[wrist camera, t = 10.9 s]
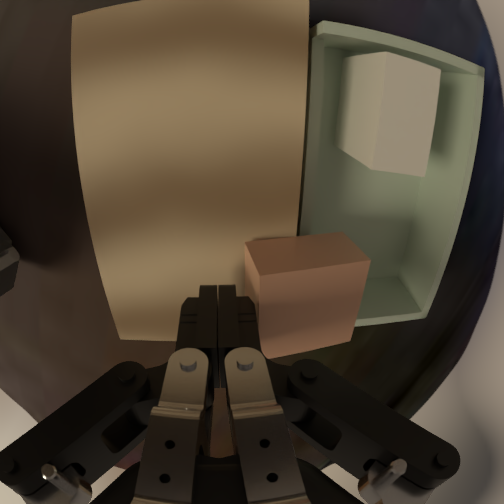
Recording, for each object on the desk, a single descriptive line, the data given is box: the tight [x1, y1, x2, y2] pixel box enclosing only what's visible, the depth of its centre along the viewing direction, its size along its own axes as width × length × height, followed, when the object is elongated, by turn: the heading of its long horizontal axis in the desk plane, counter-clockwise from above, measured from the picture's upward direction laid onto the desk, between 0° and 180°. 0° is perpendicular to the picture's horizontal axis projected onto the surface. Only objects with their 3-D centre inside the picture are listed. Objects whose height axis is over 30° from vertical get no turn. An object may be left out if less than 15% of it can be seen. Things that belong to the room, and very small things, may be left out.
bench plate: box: [71, 0, 309, 341], centre depth 14 cm, size 16×9×4 cm, turn 179°
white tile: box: [334, 52, 441, 177], centre depth 12 cm, size 4×4×2 cm
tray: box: [296, 21, 485, 326], centre depth 14 cm, size 14×8×4 cm, turn 179°
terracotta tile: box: [245, 232, 371, 359], centre depth 14 cm, size 4×4×2 cm
